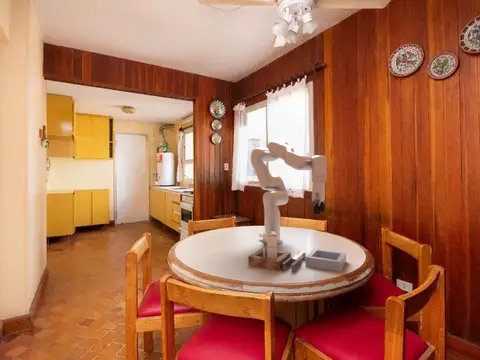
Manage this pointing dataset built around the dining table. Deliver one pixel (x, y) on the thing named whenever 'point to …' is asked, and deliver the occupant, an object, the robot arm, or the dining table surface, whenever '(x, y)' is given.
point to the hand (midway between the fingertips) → (319, 212)
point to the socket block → (274, 261)
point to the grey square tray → (326, 259)
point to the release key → (299, 256)
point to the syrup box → (270, 244)
